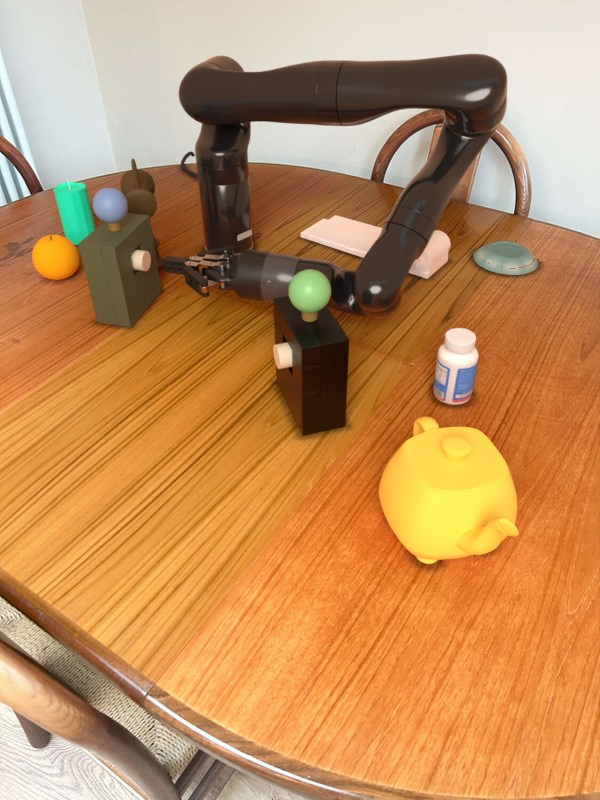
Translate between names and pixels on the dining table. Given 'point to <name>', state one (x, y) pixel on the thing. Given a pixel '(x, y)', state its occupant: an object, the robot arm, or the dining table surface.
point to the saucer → (505, 258)
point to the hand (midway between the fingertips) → (165, 264)
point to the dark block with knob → (312, 354)
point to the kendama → (141, 197)
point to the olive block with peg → (119, 261)
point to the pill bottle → (456, 367)
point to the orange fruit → (55, 257)
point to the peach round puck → (140, 260)
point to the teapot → (448, 493)
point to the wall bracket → (363, 235)
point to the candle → (74, 210)
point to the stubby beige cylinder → (282, 355)
